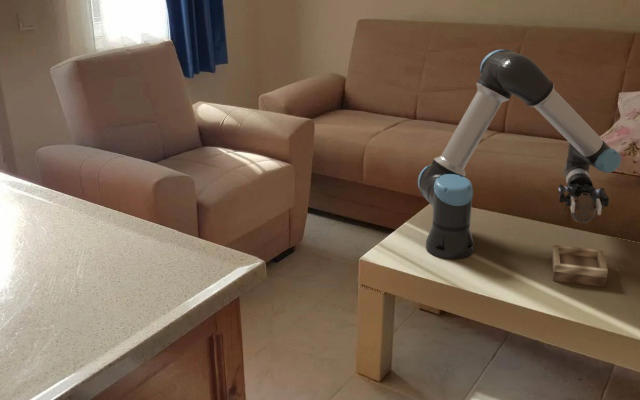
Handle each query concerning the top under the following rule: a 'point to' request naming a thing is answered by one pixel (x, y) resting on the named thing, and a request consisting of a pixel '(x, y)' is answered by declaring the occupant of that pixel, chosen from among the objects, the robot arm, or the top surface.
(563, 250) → the square wooden tray
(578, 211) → the vase
